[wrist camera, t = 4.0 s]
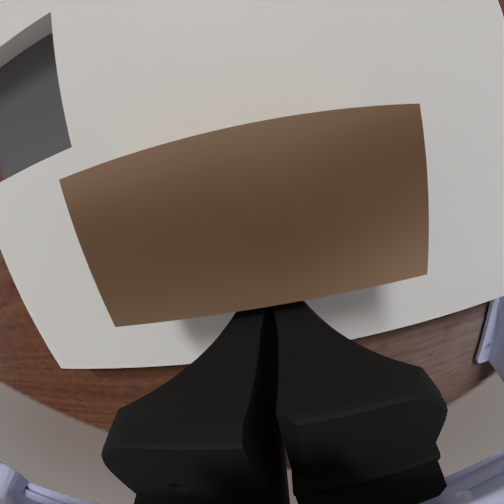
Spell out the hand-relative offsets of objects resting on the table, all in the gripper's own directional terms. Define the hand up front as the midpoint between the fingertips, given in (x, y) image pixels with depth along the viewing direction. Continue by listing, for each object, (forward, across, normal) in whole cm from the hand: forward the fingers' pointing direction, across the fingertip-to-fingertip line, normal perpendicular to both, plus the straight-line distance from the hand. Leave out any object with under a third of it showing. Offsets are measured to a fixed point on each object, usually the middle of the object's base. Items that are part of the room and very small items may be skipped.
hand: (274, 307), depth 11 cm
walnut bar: (+1, 0, -4) cm, 4 cm away
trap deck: (+3, 0, -10) cm, 10 cm away
